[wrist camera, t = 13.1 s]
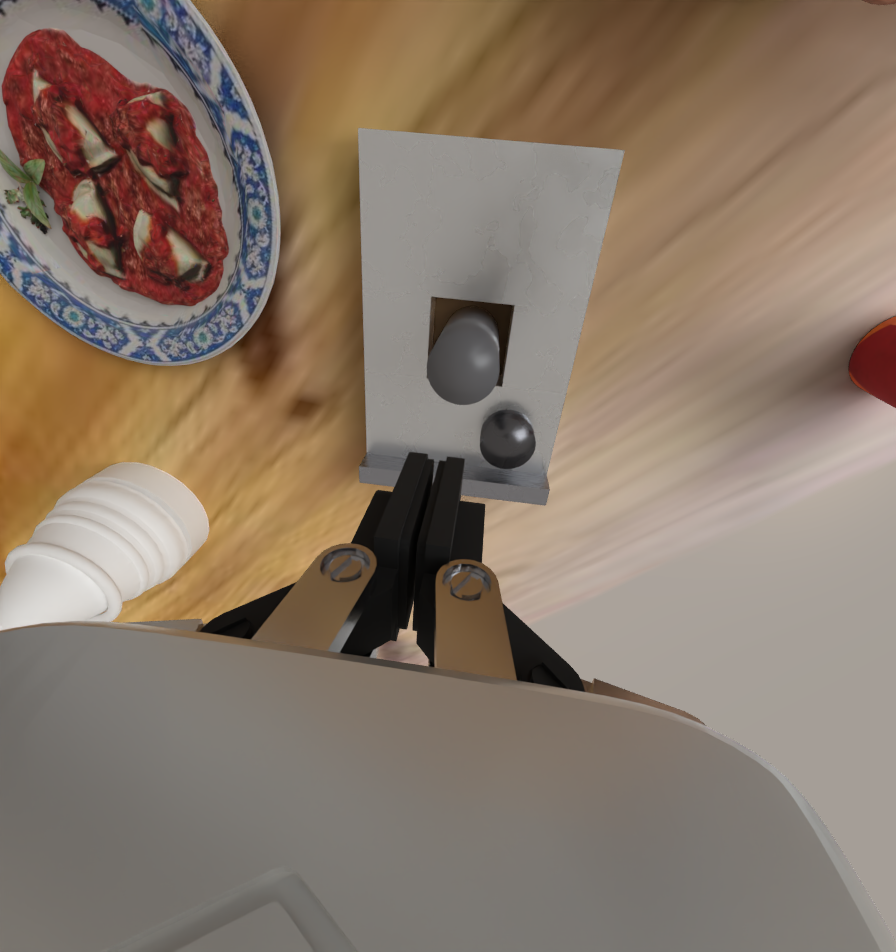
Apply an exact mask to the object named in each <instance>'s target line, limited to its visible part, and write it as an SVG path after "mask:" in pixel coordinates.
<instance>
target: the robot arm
mask: <svg viewBox="0 0 896 952" xmlns="http://www.w3.org/2000/svg"><path fill="white" fill-rule="evenodd" d="M464 464H465V459H464V458H456V457H448V456H447V458H446V461H442V460H439V463H438V467H437V471H436V474H435V478H434V482H433V472H434V459H428V454H424V453H416V452H409V453H408V456H407V458H406V461H405V463H404V465H403V468H402V470H401V473H400V475H399V477H398V480H397V482H396V485H395V487H394V490H393V492H388V491H381V490H377V491H376V492H375V494H374V496H373V498H372V500H371V502H370V505H369V507H368V509H367V511H366V513H365V515H364V517H363V519H362V521H361V523H360V525H359V527H358V530H357V532H356V534H355V536H354V538H353V540H352V542H351V543H348V544H339V545H336V546H332V547H330V548H328V549H326V550H324V551H323V552H322V553H321V554H320V555H319V556H317V558H316V559H315V560H314V561H313V563H312V564H311V565H310V566H309V568H308V569H307V570H306V571H305V573H304V574H303V575H302V576H301V578H300V579H299V580H298V581H297V582H296V583H294V584H291V585H289V586H287V587H284V588H282V589H280V590H277V591H275V592H273V593H270V594H268V595H266V596H263V597H261V598H259V599H256V600H254V601H252V602H249V603H247V604H245V605H242V606H240V607H238V608H235V609H233V610H230V611H228V612H226V613H223V614H222V615H220V616H218V617H216V618H214V619H212V620H211V621H210V622H209V623H208V624H203V622H202V620H201V619H188V620H169V621H149V622H130V623H117V622H105V621H68V622H52V623H40V624H34V625H28V626H22V627H15V628H10V629H5V630H1V631H0V952H896V941H895V939H894V937H893V936H892V934H891V932H890V930H889V928H888V927H887V925H886V923H885V921H884V919H883V918H882V916H881V914H880V913H879V911H878V909H877V907H876V906H875V904H874V902H873V901H872V899H871V897H870V896H869V894H868V892H867V890H866V889H865V887H864V886H863V884H862V882H861V880H860V879H859V877H858V876H857V874H856V872H855V870H854V869H853V867H852V866H851V864H850V862H849V861H848V859H847V858H846V856H845V855H844V853H843V851H842V850H841V848H840V847H839V845H838V844H837V842H836V841H835V839H834V837H833V836H832V834H831V833H830V831H829V830H828V828H827V827H826V825H825V824H824V822H823V821H822V820H821V818H820V817H819V816H818V814H817V813H816V811H815V810H814V809H813V807H812V806H811V805H810V804H809V802H808V801H807V800H806V799H805V797H804V796H803V795H802V793H801V792H800V791H799V790H798V789H797V788H796V787H795V786H794V785H793V784H792V783H791V782H790V781H789V779H787V777H786V776H784V775H783V774H782V773H781V772H780V771H779V770H777V769H776V768H775V767H774V766H773V765H771V764H770V763H769V762H767V761H766V760H765V759H763V758H761V757H760V756H759V755H757V754H756V753H754V752H753V751H751V750H750V749H748V748H746V747H745V746H743V745H741V744H740V743H738V742H737V741H735V740H733V739H731V738H728V737H727V736H725V735H723V734H721V733H719V732H717V731H715V730H713V729H711V728H709V727H707V726H706V725H705V724H704V723H703V722H701V721H700V720H699V719H698V718H696V717H694V716H692V715H690V714H688V713H686V712H685V711H682V710H679V709H676V708H674V707H671V706H668V705H665V704H663V703H660V702H657V701H655V700H652V699H649V698H646V697H643V696H641V695H638V694H635V693H633V692H630V691H627V690H625V689H622V688H619V687H616V686H613V685H611V684H608V683H605V682H603V681H600V680H597V679H594V680H593V681H592V683H590V682H588V681H585V680H582V679H580V677H579V675H578V674H577V673H576V672H575V671H574V669H573V668H572V667H571V666H570V665H569V664H568V663H567V662H566V661H565V660H564V659H562V658H561V657H560V656H559V655H558V654H557V653H556V652H555V651H554V650H553V649H552V648H551V647H549V646H548V645H547V644H546V643H545V642H544V641H543V640H542V639H541V638H540V637H539V636H538V635H537V634H535V633H534V632H533V631H532V630H531V629H530V628H529V627H528V626H527V625H526V624H525V623H524V622H523V621H521V620H520V619H519V618H518V617H517V616H516V615H515V614H514V613H513V612H512V611H511V610H510V609H508V608H507V607H506V606H505V605H504V604H503V603H502V599H501V594H500V588H499V583H498V580H497V578H496V575H495V574H494V573H493V572H492V570H491V569H490V568H488V567H487V566H485V565H484V564H482V551H483V534H484V517H485V504H480V503H473V502H465V501H460V498H461V490H462V481H463V473H464ZM413 601H414V611H413V630H414V631H417V645H418V646H419V647H420V648H421V650H422V651H423V652H424V653H425V655H426V656H427V657H428V658H429V660H428V666H422V665H415V664H409V663H402V662H396V661H389V660H383V659H376V658H377V654H378V647H379V646H381V645H383V644H385V643H386V642H388V641H390V640H392V641H396V640H397V636H398V632H399V629H407V626H408V622H409V618H410V614H411V610H412V605H413Z"/></svg>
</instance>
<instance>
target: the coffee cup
mask: <svg viewBox="0 0 896 952" xmlns="http://www.w3.org/2000/svg"><path fill="white" fill-rule="evenodd" d="M849 375H850V378H851V379H852V381H853V382H854V383H855V384H856V385H857V386H858V387H859V388H861V389H863V390H864V391H866V392H868V393H869V394H871V395H873V396H875V397H876V398H878V399H880V400H882V401H884V402H886V403H887V404H889V405H891V406H893V407H895V408H896V316H895V317H892V318H890V319H888V320H886V321H884V322H882V323H881V324H879V325H878V326H876V327H875V328H873V329H872V330H871V331H870V332H869V333H867V334H866V335H865V336H864V338H863V339H862V340H861V341H860V342H859V343H858V345H857V346H856V348H855V349H854V351H853V353H852V356H851V358H850V362H849Z"/></svg>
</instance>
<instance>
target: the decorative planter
mask: <svg viewBox="0 0 896 952" xmlns="http://www.w3.org/2000/svg"><path fill="white" fill-rule="evenodd" d="M863 1H865V2H868V3H870V4H876V5H887V4H895V3H896V0H863Z"/></svg>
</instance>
